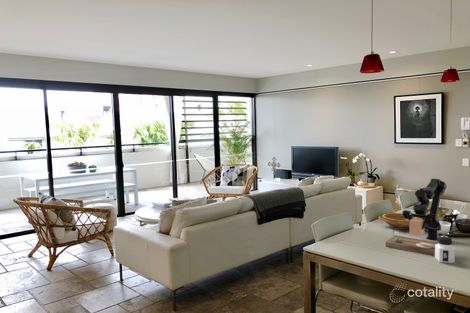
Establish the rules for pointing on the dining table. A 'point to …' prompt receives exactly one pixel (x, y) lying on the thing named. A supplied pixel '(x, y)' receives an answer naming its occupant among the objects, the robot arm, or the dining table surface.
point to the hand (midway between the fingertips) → (416, 228)
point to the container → (445, 250)
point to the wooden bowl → (396, 220)
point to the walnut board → (412, 244)
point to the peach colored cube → (416, 227)
